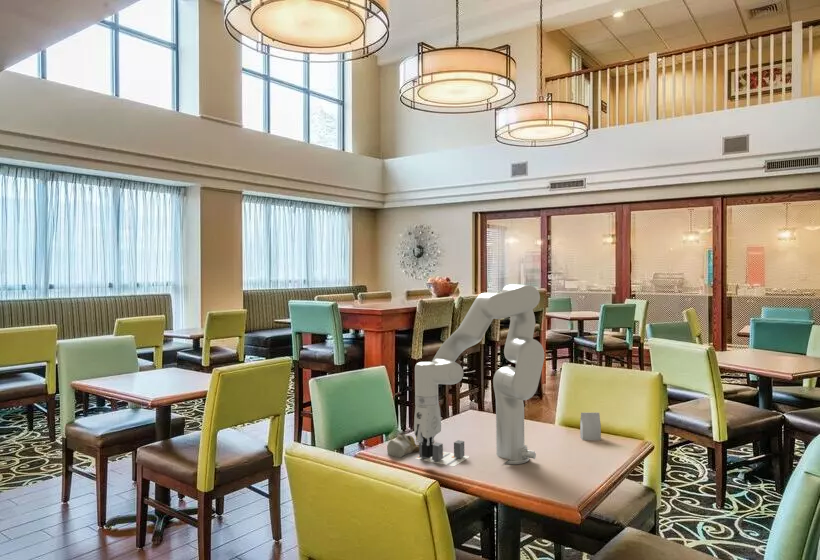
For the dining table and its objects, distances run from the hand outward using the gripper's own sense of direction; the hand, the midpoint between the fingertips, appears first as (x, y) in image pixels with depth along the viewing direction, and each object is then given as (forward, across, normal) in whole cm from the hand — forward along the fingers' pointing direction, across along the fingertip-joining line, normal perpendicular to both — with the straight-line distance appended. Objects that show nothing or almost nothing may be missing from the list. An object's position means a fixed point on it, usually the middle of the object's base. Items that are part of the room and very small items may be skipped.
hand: (427, 456), depth 184 cm
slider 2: (+3, +6, 0) cm, 7 cm away
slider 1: (+3, +6, +5) cm, 9 cm away
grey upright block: (+5, +61, -36) cm, 71 cm away
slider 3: (+3, +12, -5) cm, 14 cm away
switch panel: (+5, +10, 0) cm, 11 cm away
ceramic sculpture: (+5, +9, +15) cm, 18 cm away
